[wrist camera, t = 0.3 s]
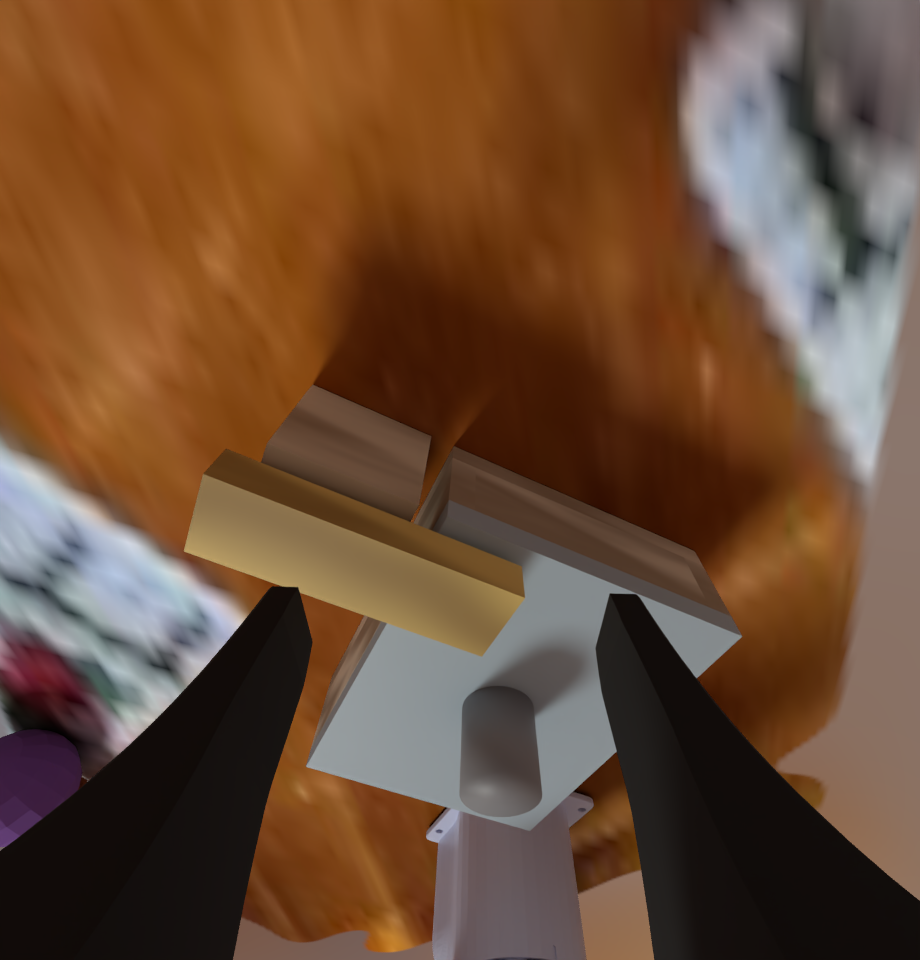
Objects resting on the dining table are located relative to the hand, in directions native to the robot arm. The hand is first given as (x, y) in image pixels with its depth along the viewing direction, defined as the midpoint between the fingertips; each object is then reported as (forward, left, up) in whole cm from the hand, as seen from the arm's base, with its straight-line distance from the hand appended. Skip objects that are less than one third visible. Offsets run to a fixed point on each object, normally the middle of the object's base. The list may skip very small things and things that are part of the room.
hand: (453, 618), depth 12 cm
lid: (-9, -6, -7) cm, 13 cm away
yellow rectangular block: (-3, +2, -5) cm, 6 cm away
